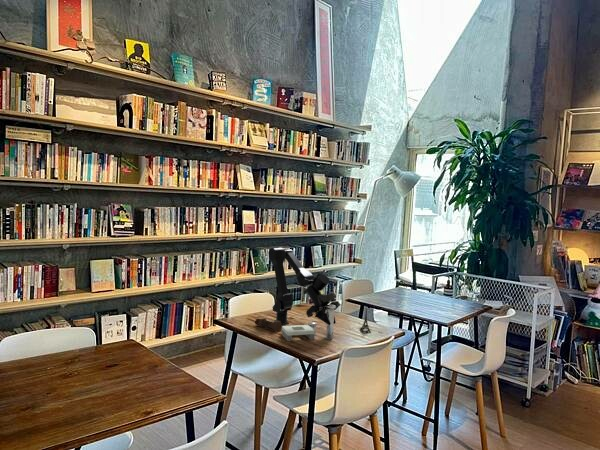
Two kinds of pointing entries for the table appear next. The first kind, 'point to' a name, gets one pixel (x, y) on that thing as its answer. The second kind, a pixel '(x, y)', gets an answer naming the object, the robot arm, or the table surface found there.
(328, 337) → the long pin
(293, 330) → the square washer plate
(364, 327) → the eiffel tower figurine
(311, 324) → the short stub
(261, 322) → the bolt
